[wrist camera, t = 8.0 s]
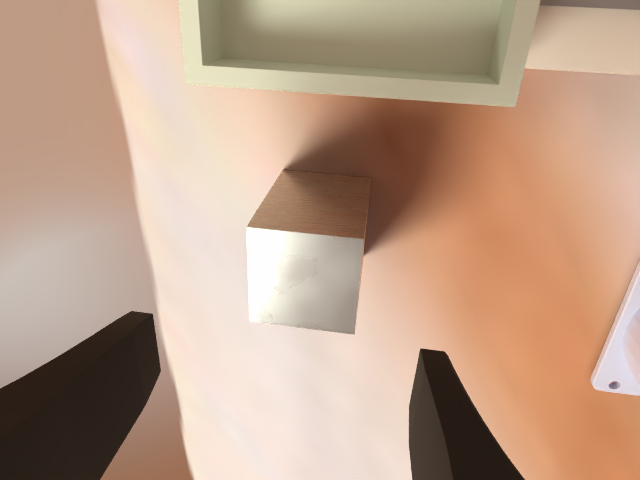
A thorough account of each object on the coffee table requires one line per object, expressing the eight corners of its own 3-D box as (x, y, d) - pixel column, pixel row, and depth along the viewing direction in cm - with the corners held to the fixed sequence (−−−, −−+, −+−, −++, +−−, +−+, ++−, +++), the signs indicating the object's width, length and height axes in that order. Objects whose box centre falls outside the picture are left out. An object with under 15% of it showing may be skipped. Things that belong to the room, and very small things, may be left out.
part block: (371, 177, 21) (363, 239, 16) (363, 255, 23) (354, 334, 17) (283, 169, 21) (246, 227, 16) (282, 247, 23) (249, 321, 18)
